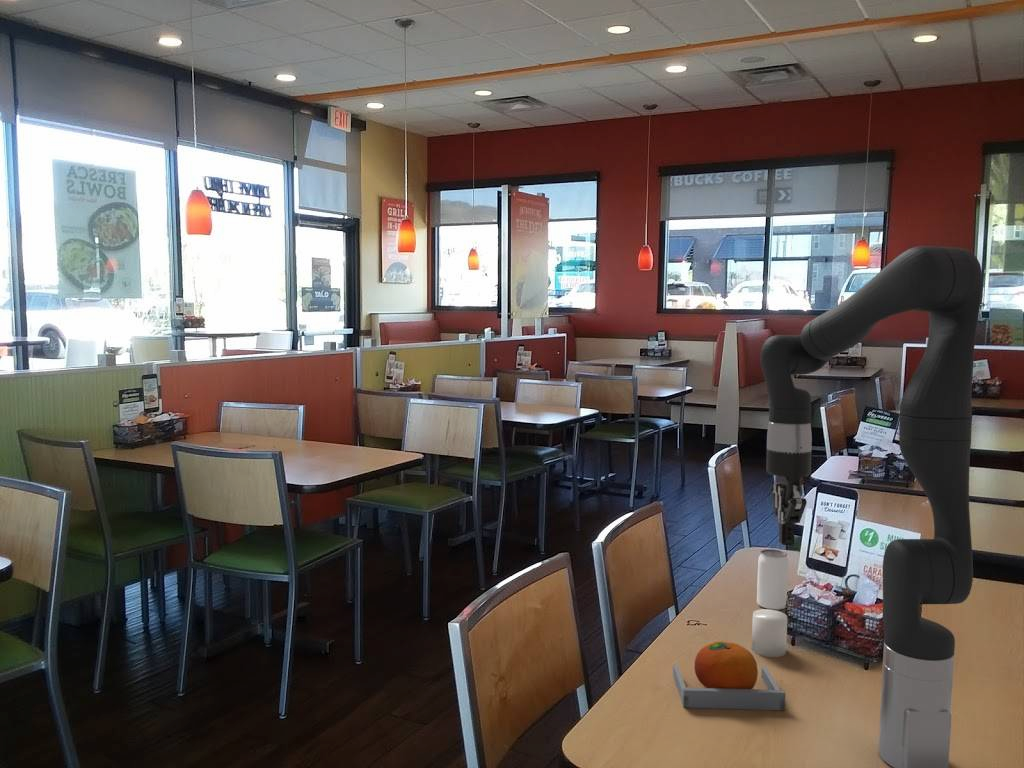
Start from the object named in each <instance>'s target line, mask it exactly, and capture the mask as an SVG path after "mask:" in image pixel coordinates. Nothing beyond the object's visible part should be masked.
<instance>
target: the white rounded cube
mask: <svg viewBox="0 0 1024 768" xmlns="http://www.w3.org/2000/svg"><path fill="white" fill-rule="evenodd" d="M751 625H752V628H751V630H752V631H751V632H752V633H751V650H752V652H754V653H756V654H757V655H759V656H763V657H766V658H767V657H768V658H780V657H783V656H785V655H786V654H787V638H788V637H787V636H788V616H787V614H786V613H784V612H782V611H780V610H770V609H765V608H760V609H757V610H754V611H753V613H752V624H751Z"/></svg>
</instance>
